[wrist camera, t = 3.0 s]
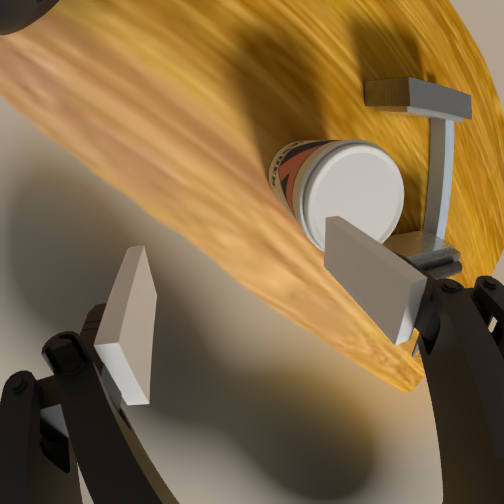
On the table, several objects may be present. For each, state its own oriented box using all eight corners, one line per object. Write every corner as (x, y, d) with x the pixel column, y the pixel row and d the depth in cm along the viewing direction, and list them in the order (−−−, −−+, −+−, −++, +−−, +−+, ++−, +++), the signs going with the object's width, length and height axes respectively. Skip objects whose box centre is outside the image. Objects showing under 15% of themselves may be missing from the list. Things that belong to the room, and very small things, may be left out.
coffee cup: (292, 116, 28) (352, 114, 17) (352, 165, 32) (423, 189, 21) (243, 188, 30) (277, 225, 19) (309, 229, 34) (363, 278, 23)
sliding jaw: (362, 261, 37) (405, 299, 28) (365, 236, 35) (411, 270, 27) (420, 248, 39) (463, 278, 30) (423, 226, 37) (469, 253, 29)
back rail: (419, 253, 40) (431, 261, 37) (429, 94, 29) (444, 94, 27) (427, 250, 40) (439, 258, 37) (438, 96, 30) (453, 97, 27)
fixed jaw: (365, 110, 29) (410, 112, 22) (363, 82, 27) (408, 76, 20) (427, 118, 31) (471, 124, 24) (427, 93, 29) (470, 95, 22)
